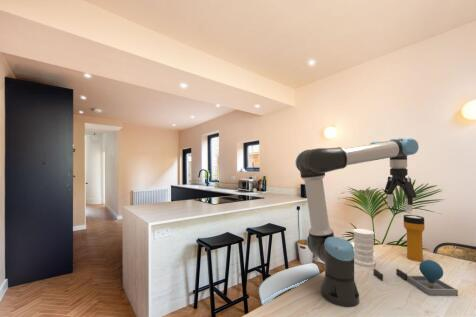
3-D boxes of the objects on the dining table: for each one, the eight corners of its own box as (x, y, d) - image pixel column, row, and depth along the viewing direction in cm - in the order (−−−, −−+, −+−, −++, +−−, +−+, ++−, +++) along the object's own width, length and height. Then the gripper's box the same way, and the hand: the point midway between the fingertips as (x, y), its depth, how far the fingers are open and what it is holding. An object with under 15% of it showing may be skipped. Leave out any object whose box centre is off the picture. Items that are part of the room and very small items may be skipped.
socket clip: (380, 280, 110) (380, 274, 110) (373, 274, 116) (373, 268, 116) (407, 280, 110) (407, 274, 110) (398, 274, 116) (398, 268, 116)
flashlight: (404, 216, 135) (402, 213, 144) (405, 259, 134) (403, 254, 143) (425, 218, 130) (422, 215, 138) (426, 263, 129) (423, 257, 138)
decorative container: (354, 264, 127) (353, 233, 128) (351, 257, 138) (350, 227, 139) (377, 268, 123) (377, 235, 124) (372, 259, 134) (372, 229, 135)
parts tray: (429, 295, 97) (428, 289, 97) (406, 280, 110) (406, 275, 110) (457, 295, 97) (457, 289, 97) (432, 280, 110) (432, 275, 110)
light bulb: (448, 293, 98) (447, 265, 98) (426, 290, 100) (425, 263, 100) (435, 283, 106) (435, 257, 107) (415, 281, 108) (415, 256, 108)
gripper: (425, 168, 105) (426, 213, 104) (389, 167, 130) (390, 204, 129) (409, 168, 105) (409, 213, 104) (376, 167, 130) (377, 204, 129)
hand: (399, 208), depth 117 cm, fingers open, 13 cm apart
